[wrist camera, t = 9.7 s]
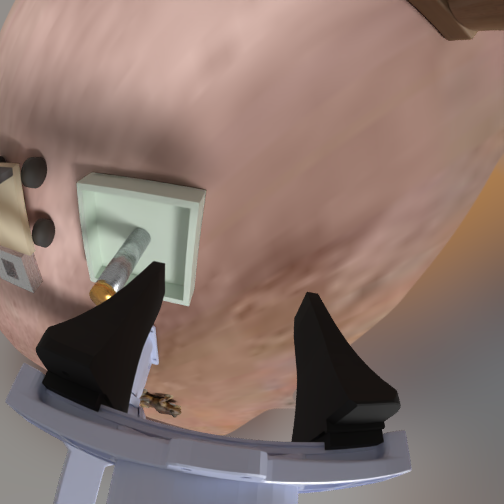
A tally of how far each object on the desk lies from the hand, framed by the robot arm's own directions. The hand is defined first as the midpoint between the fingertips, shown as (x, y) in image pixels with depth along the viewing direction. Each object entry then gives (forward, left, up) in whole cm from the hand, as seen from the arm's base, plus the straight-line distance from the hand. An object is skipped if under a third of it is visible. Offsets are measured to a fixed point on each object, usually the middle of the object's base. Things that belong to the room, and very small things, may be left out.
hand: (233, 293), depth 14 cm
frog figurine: (-44, +9, -11) cm, 46 cm away
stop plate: (-14, +30, -10) cm, 35 cm away
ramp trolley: (-3, +25, -10) cm, 27 cm away
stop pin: (-5, +9, -10) cm, 14 cm away
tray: (-5, +9, -10) cm, 15 cm away
